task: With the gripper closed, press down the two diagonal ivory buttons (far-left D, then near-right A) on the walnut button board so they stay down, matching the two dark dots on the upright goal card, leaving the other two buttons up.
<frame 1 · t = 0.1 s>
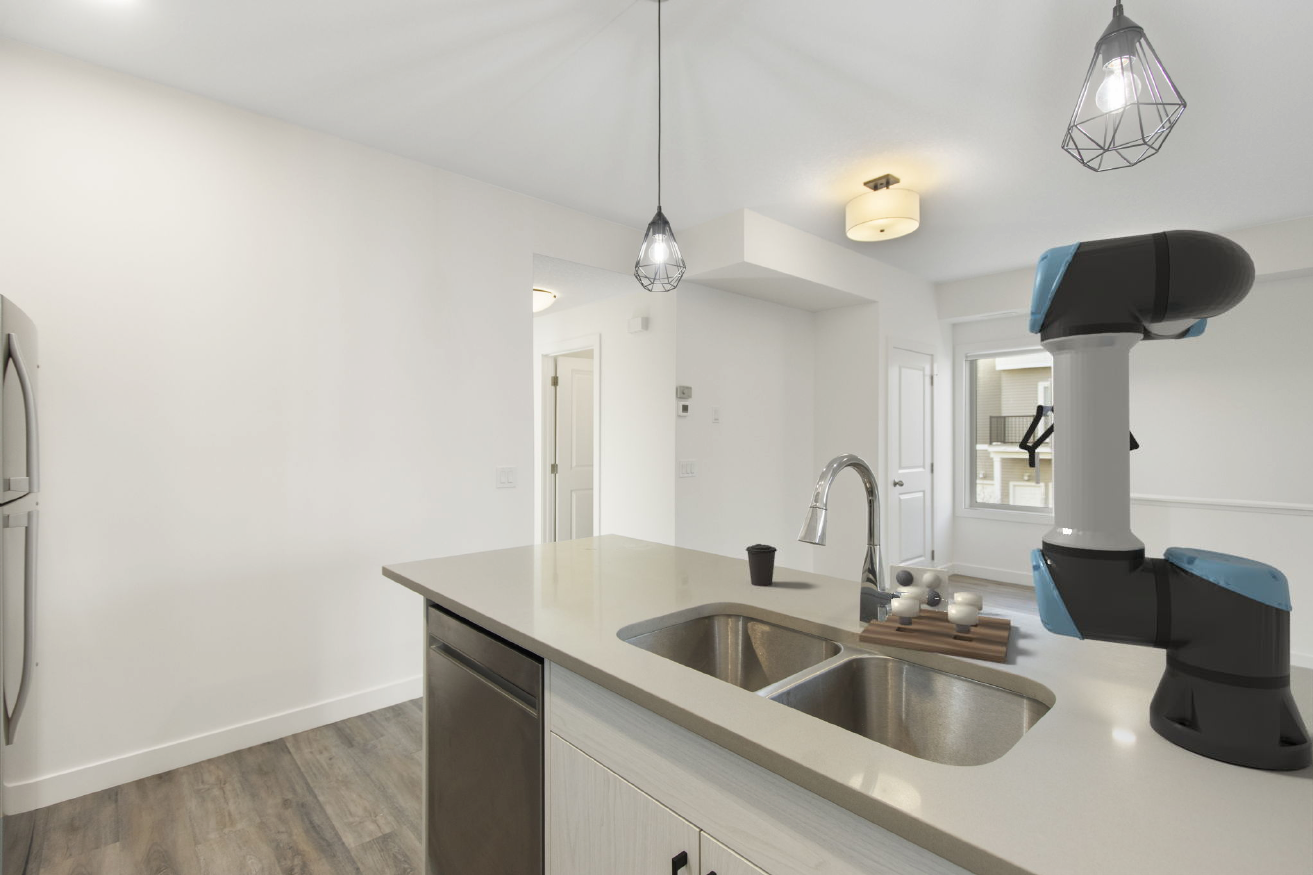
hand: (1076, 484, 128), 28 cm above the worktop, fingers open, 13 cm apart
button C: (968, 606, 124), point 5 cm above the worktop, slide at 0.0 cm
board: (937, 633, 123), on the worktop
button B: (905, 612, 121), point 5 cm above the worktop, slide at 0.0 cm
coffee cup: (761, 584, 165), on the worktop
button D: (914, 600, 130), point 5 cm above the worktop, slide at 0.0 cm
button A: (963, 619, 116), point 5 cm above the worktop, slide at 0.0 cm
goal card: (918, 607, 140), on the worktop
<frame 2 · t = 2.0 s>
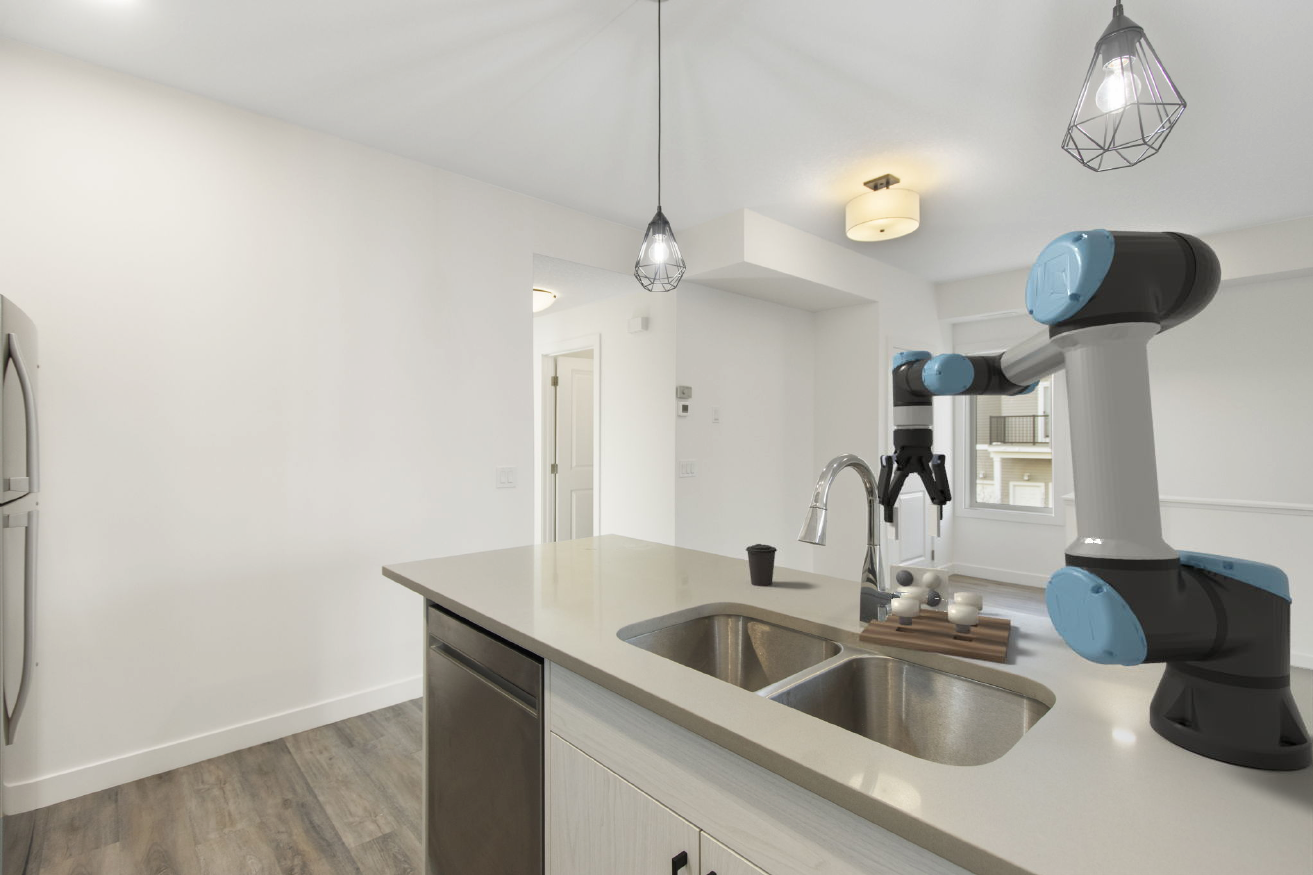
hand: (913, 537, 130), 17 cm above the worktop, fingers open, 9 cm apart
nothing on the worktop moved.
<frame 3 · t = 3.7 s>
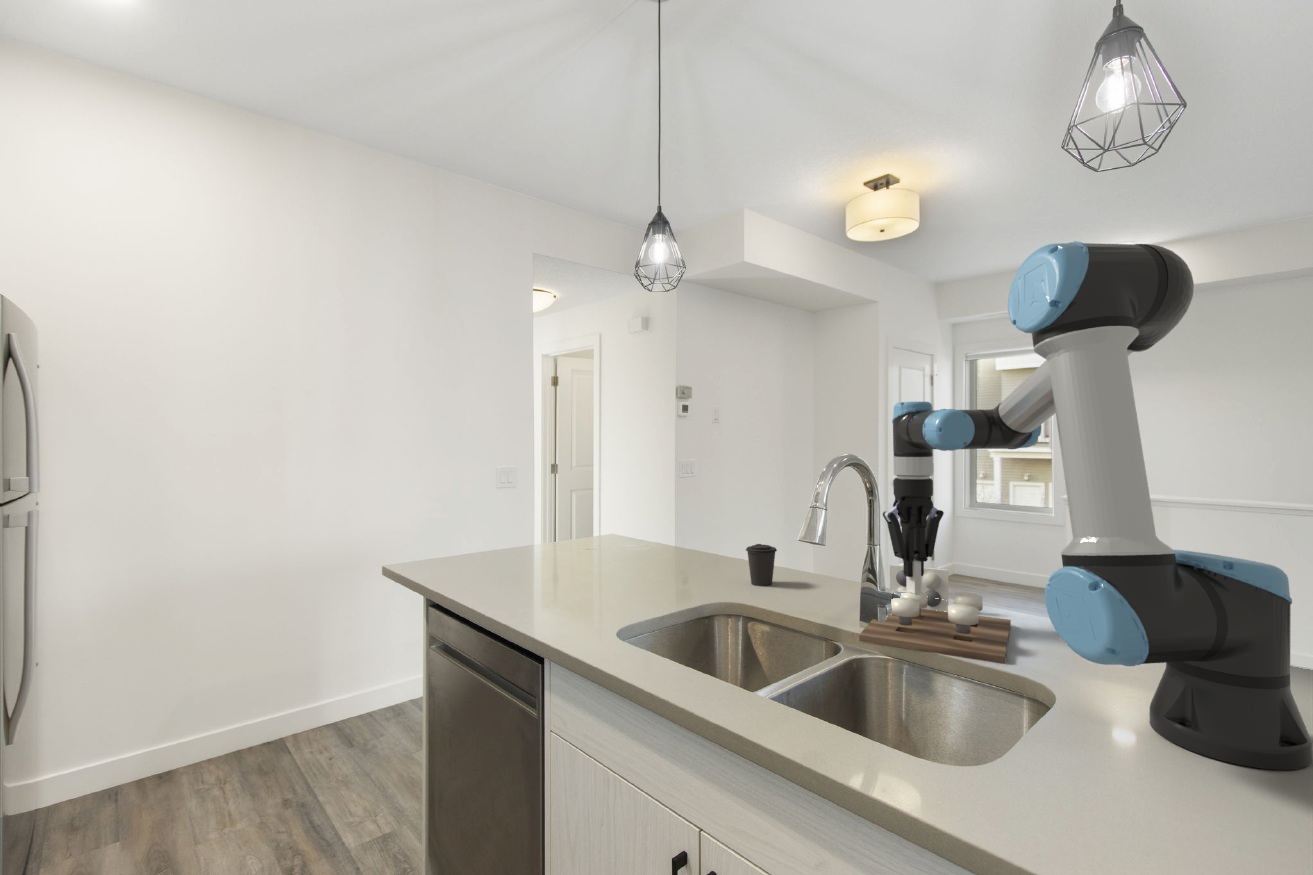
hand: (913, 591, 130), 6 cm above the worktop, fingers closed
button D: (914, 604, 130), point 4 cm above the worktop, slide at 0.8 cm, touching gripper
everything else where it was.
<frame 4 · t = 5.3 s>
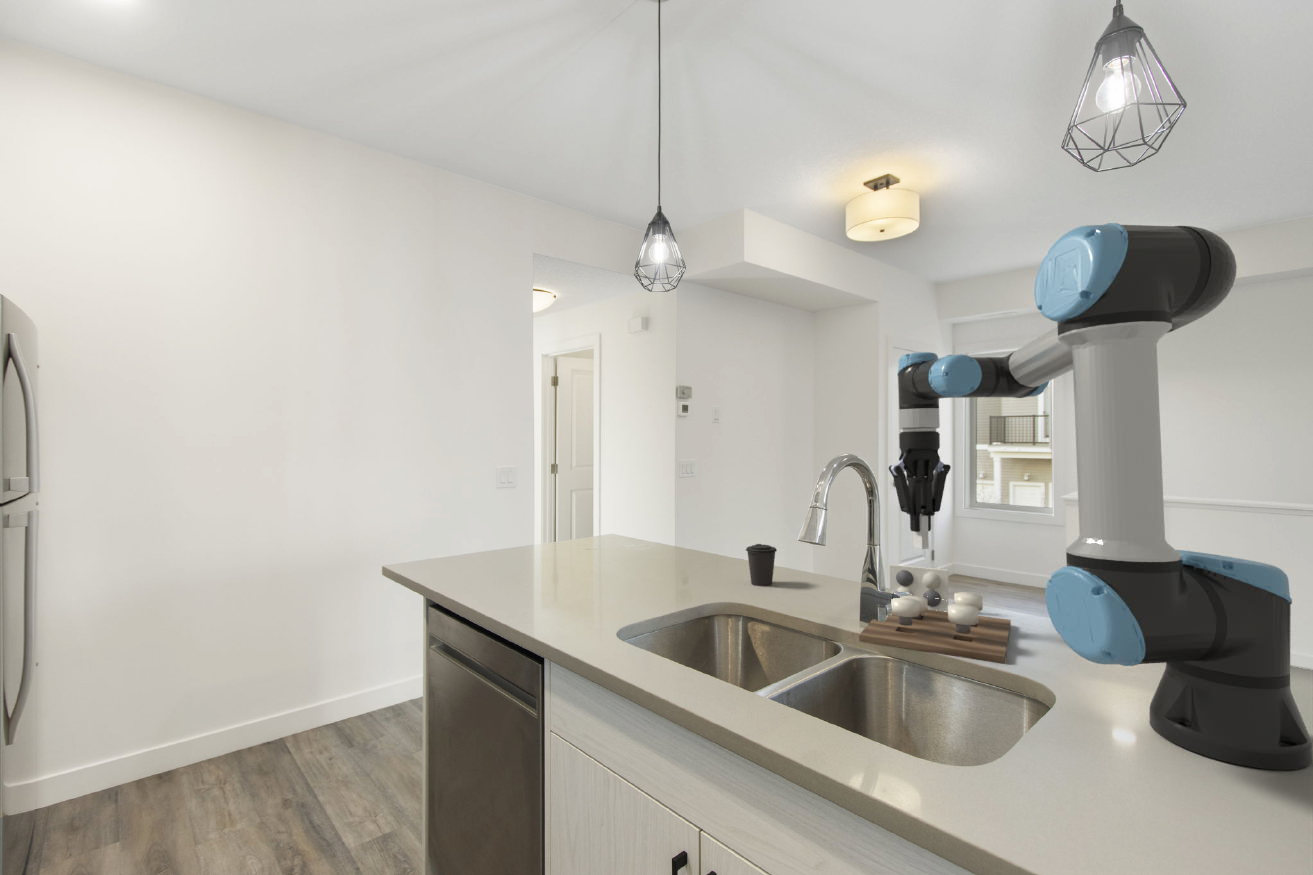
hand: (920, 547, 127), 16 cm above the worktop, fingers closed
button D: (914, 609, 130), point 3 cm above the worktop, slide at 1.9 cm
everything else where it was.
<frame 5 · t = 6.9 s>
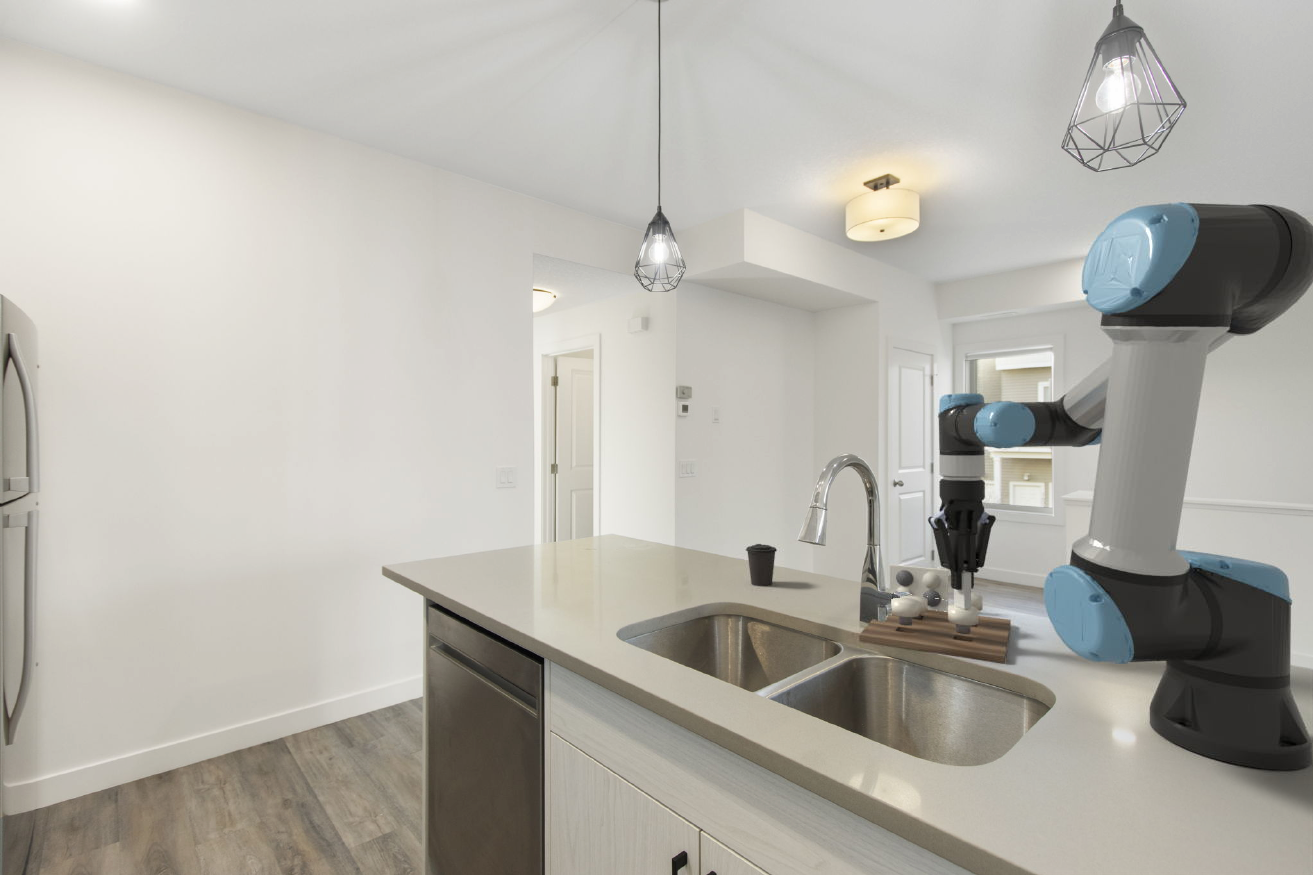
hand: (962, 606, 116), 7 cm above the worktop, fingers closed
button A: (963, 620, 116), point 5 cm above the worktop, slide at 0.1 cm, touching gripper
everything else where it was.
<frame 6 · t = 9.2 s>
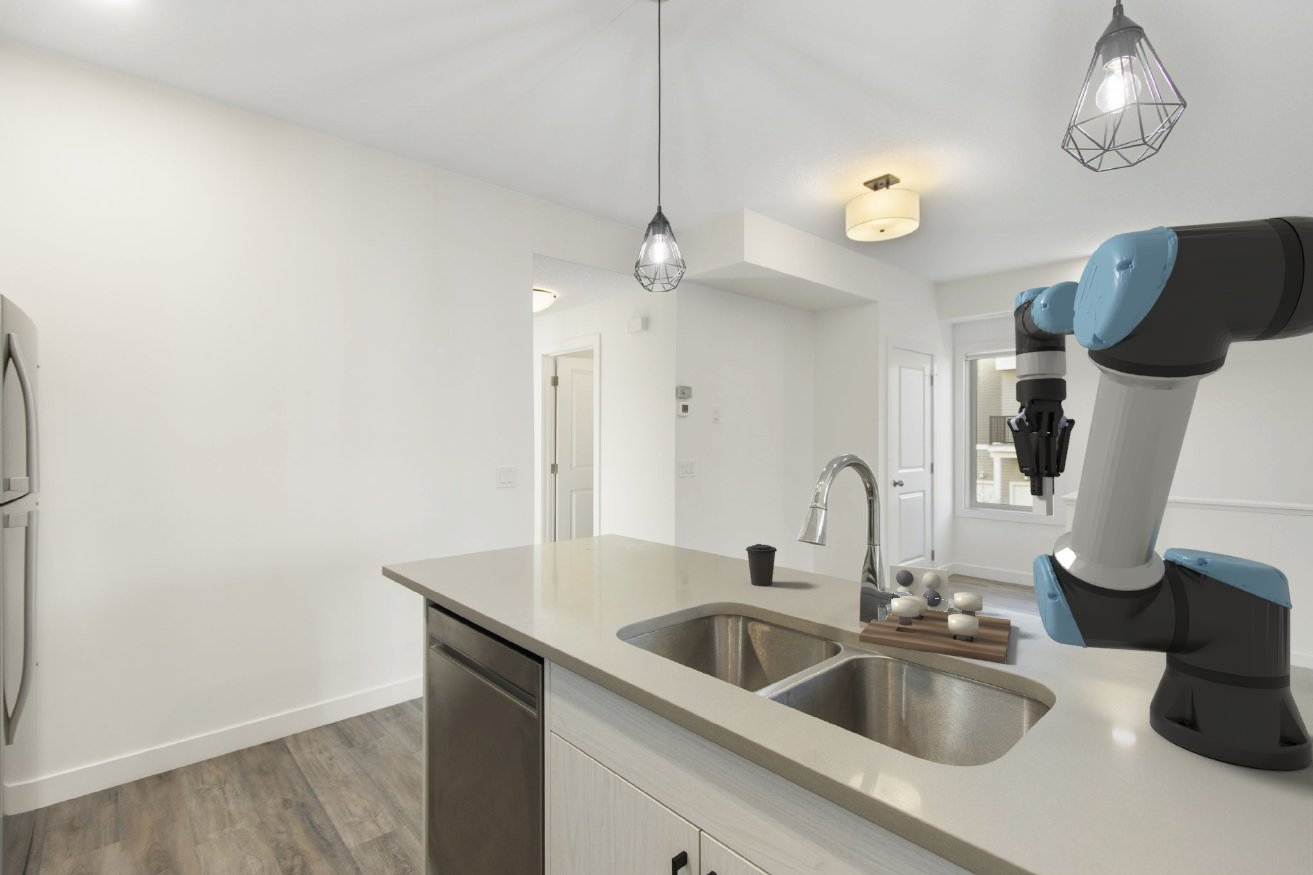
hand: (1042, 514, 110), 25 cm above the worktop, fingers closed
button A: (963, 629, 116), point 3 cm above the worktop, slide at 1.9 cm
everything else where it was.
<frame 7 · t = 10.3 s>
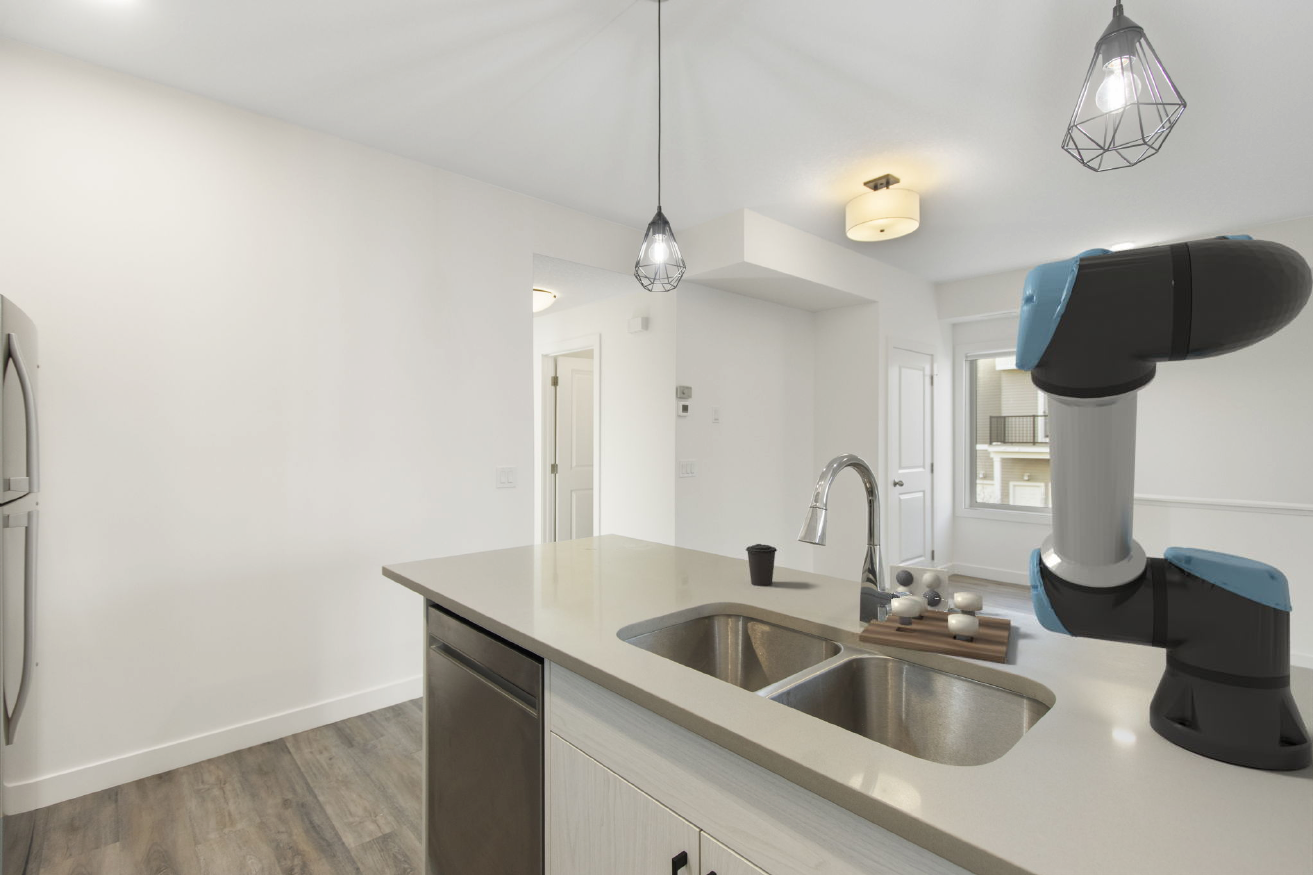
hand: (1093, 487, 107), 29 cm above the worktop, fingers closed
nothing on the worktop moved.
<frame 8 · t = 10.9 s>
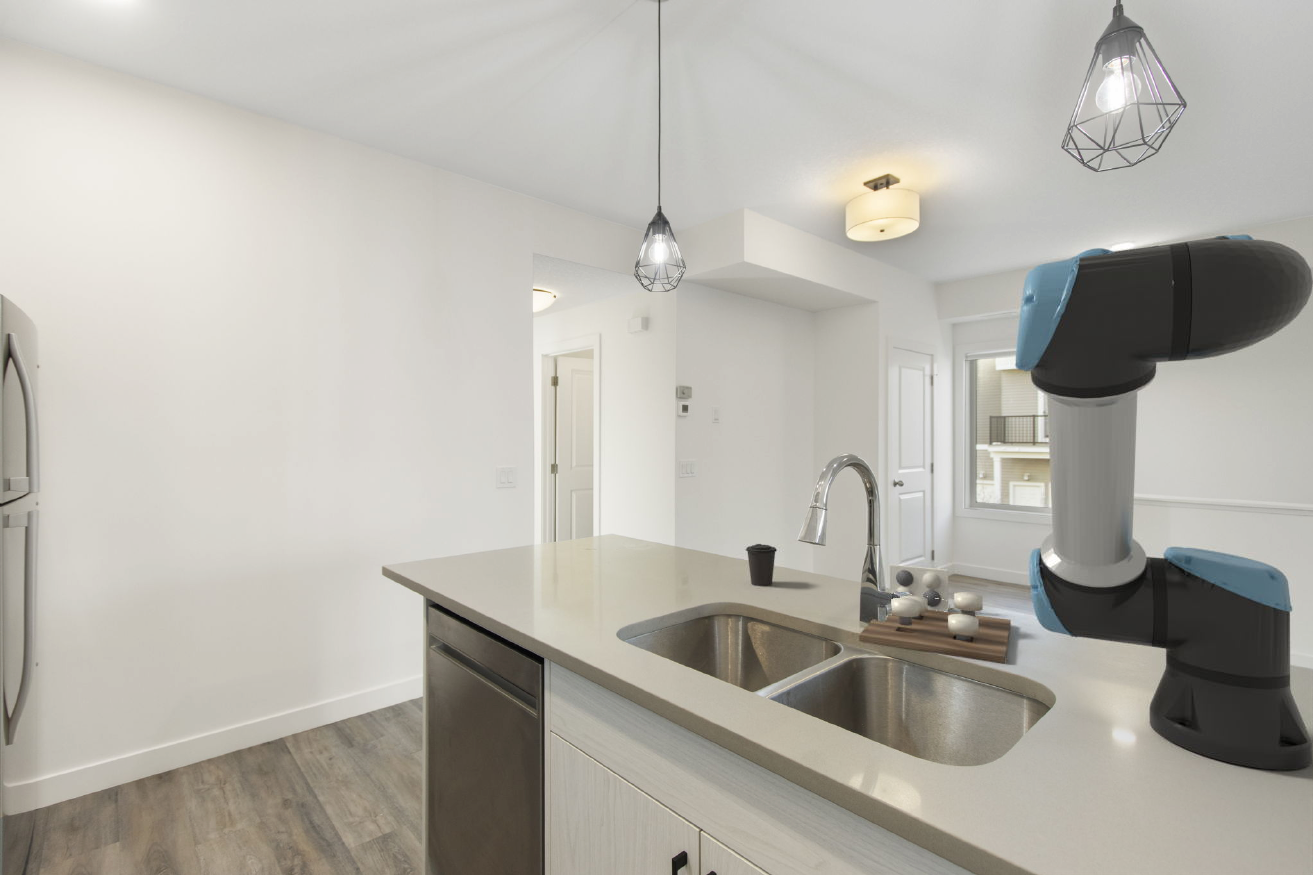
hand: (1093, 487, 107), 29 cm above the worktop, fingers closed
nothing on the worktop moved.
at the end: button A slide at 1.9 cm; button D slide at 1.9 cm; button B slide at 0.0 cm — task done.
